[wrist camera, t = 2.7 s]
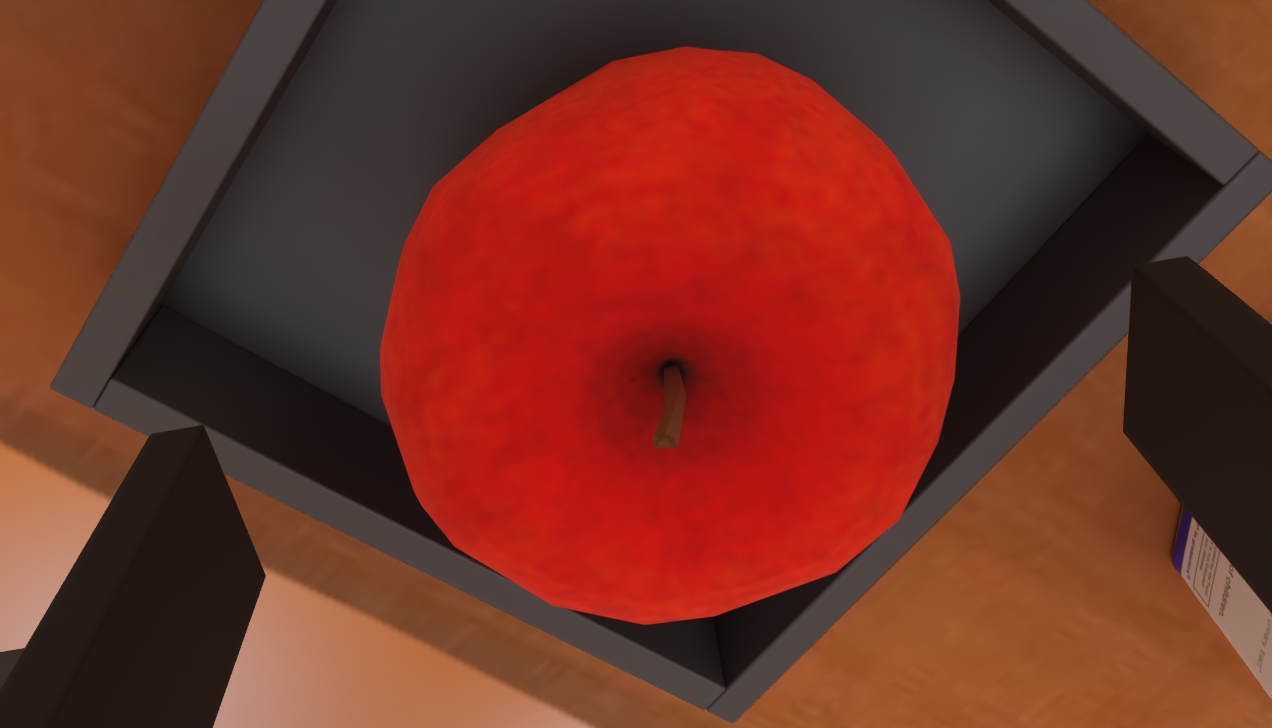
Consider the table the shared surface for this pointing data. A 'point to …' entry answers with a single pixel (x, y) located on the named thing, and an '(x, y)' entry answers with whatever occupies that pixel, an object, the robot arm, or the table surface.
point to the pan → (533, 73)
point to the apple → (671, 340)
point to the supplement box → (1225, 597)
